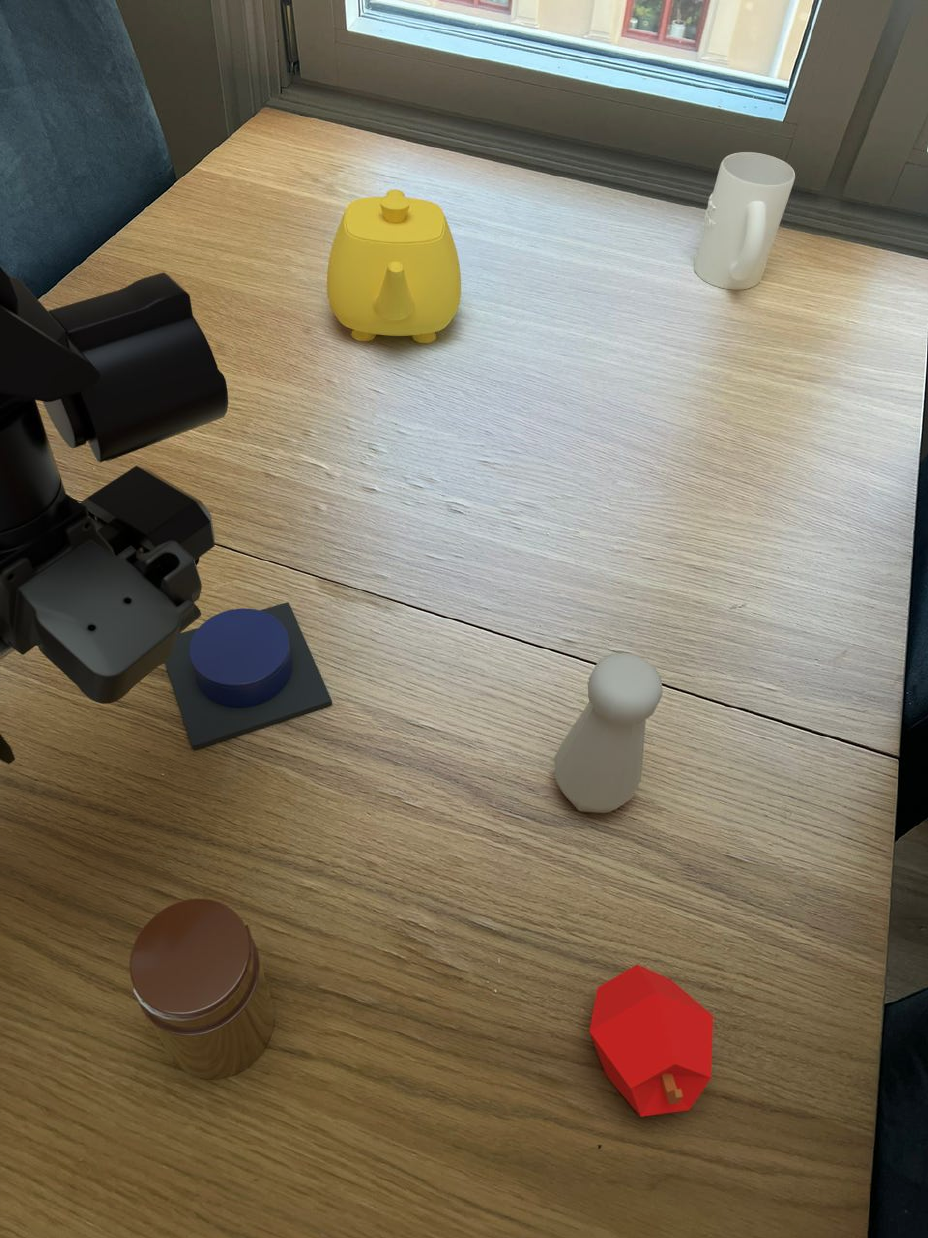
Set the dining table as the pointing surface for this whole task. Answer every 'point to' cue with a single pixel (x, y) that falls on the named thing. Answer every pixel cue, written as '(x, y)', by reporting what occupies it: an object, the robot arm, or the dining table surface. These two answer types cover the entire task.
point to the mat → (224, 722)
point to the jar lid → (241, 657)
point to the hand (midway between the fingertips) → (76, 701)
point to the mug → (743, 219)
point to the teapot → (394, 269)
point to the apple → (652, 1041)
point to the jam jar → (203, 987)
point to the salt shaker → (609, 735)
